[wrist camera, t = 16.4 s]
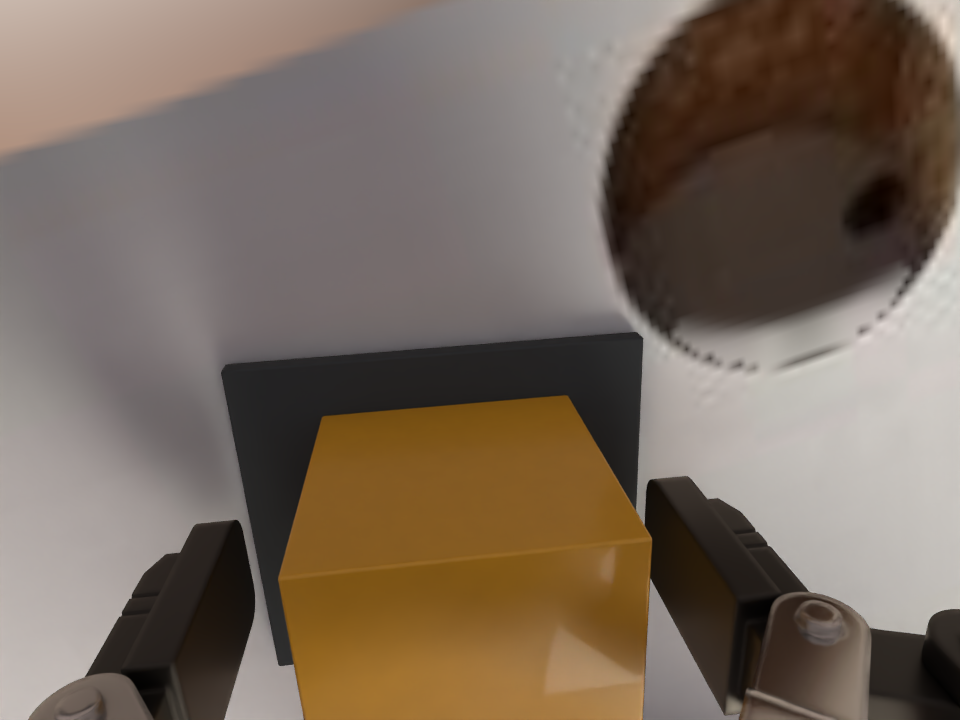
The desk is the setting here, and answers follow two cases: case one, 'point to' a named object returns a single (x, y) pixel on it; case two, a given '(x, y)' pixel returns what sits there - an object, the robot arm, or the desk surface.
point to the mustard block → (466, 569)
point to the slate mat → (405, 385)
